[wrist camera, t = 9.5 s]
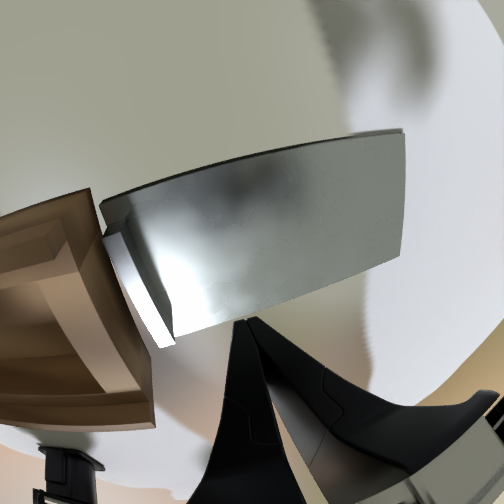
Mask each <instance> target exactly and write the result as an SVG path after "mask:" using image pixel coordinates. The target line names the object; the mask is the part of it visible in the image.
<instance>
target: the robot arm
mask: <svg viewBox="0 0 504 504" xmlns="http://www.w3.org/2000/svg"><path fill="white" fill-rule="evenodd" d="M499 396H500V394H499V393H497V392H495V391H491V390H478V391H477V392H476V393H475V394H474V395H473V396H472V397H471V398H470V399H468V400H467V401H465V402H463V403H460V404H456V405H444V406H402V405H397V404H394V403H391V402H388V401H386V400H384V399H382V398H380V397H378V396H376V395H374V394H372V393H369V392H367V391H365V390H363V389H361V388H360V387H358V386H356V385H354V384H352V383H350V382H348V381H347V380H345V379H343V378H342V377H340V376H339V375H337V374H336V373H334V372H333V371H331V370H330V369H328V368H327V367H326V368H325V366H324V365H322V364H321V363H320V362H318V361H317V360H315V359H314V358H313V357H311V356H310V355H308V354H307V353H306V352H304V351H303V350H302V349H300V348H299V347H297V346H296V345H295V344H293V343H292V342H291V341H289V340H288V339H286V338H285V337H284V336H282V335H281V334H280V333H278V332H277V331H276V330H274V329H273V328H272V327H270V326H269V325H268V324H266V323H265V322H264V321H262V320H261V319H260V318H258V317H256V316H255V317H251V318H247V319H246V320H244V319H242V320H238V321H234V323H233V330H232V337H231V345H230V353H229V361H228V368H227V376H226V384H225V392H224V399H223V407H222V413H221V420H220V424H219V428H218V431H217V435H216V439H215V442H214V445H213V449H212V452H211V455H210V459H209V462H208V465H207V468H206V471H205V473H204V476H203V478H202V480H201V482H200V483H199V485H198V487H197V488H196V490H195V491H194V493H193V494H192V496H191V497H190V499H189V500H188V502H187V503H186V504H307V503H306V501H305V499H304V496H303V494H302V492H301V490H300V488H299V486H298V483H297V481H296V479H295V477H294V474H293V472H292V470H291V467H290V465H289V463H288V460H287V457H286V454H285V451H284V447H283V443H282V439H281V436H280V432H279V428H278V424H277V421H276V417H275V413H274V409H273V405H272V402H273V404H274V405H275V408H276V409H277V411H278V413H279V415H280V417H281V419H282V421H283V423H284V425H285V427H286V428H287V431H288V432H289V434H290V436H291V438H292V440H293V442H294V444H295V445H296V447H297V449H298V451H299V453H300V454H301V456H302V458H303V460H304V462H305V464H306V465H307V467H308V468H309V471H310V473H311V474H312V476H313V477H314V480H315V481H316V483H317V485H318V486H319V488H320V490H321V492H322V493H323V495H324V497H325V498H326V500H327V501H328V503H329V504H356V503H357V504H492V503H493V502H494V501H495V500H496V499H497V498H498V497H499V495H500V494H501V493H502V492H503V491H504V396H503V397H502V398H501V399H500V400H499V402H498V403H497V404H496V405H495V406H494V407H493V408H492V409H491V410H490V411H489V412H488V413H487V414H486V416H485V417H484V416H483V414H484V413H485V412H486V411H487V410H488V408H490V406H491V405H492V404H493V403H494V402H495V401H496V400H497V398H498V397H499ZM271 400H272V402H271ZM38 450H39V451H40V452H42V453H43V454H45V455H46V459H45V480H46V492H44V490H41V489H39V490H38V489H34V488H33V504H47V503H45V500H48V501H51V502H54V503H57V504H97V493H96V479H95V471H105V468H104V467H103V466H101V465H100V464H98V463H96V462H95V461H93V460H92V459H90V458H89V457H87V456H86V455H84V454H83V453H82V452H80V451H77V450H65V449H55V448H46V447H38Z"/></svg>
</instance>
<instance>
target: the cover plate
mask: <svg viewBox="0 0 504 504" xmlns="http://www.w3.org/2000/svg"><path fill="white" fill-rule="evenodd" d="M404 201H405V133H391V134H381V135H372V136H364V137H356V138H353V137H352V136H346V137H340V138H333V139H327V140H320V141H314V142H308V143H302V144H297V145H292V146H286V147H282V148H276V149H272V150H267V151H263V152H258V153H254V154H250V155H245V156H241V157H237V158H232V159H229V160H225V161H221V162H217V163H213V164H210V165H206V166H202V167H199V168H196V169H192V170H188V171H185V172H182V173H178V174H175V175H172V176H169V177H166V178H163V179H159V180H156V181H154V182H150V183H147V184H144V185H142V186H139V187H136V188H133V189H130V190H127V191H125V192H122V193H120V194H117V195H114V196H112V197H109V198H106V199H104V200H102V202H101V203H100V204H99V208H100V210H101V213H102V215H103V218H104V220H105V223H106V225H107V229H106V231H105V233H104V235H103V237H102V241H103V243H104V246H105V248H106V250H107V252H108V254H109V256H110V258H111V261H112V263H113V264H114V267H115V269H116V271H117V273H118V275H119V277H120V279H121V281H122V283H123V284H124V286H125V288H126V290H127V292H128V294H129V296H130V298H131V300H132V302H133V303H134V305H135V307H136V309H137V310H138V312H139V314H140V316H141V317H142V319H143V321H144V323H145V324H146V326H147V328H148V329H149V331H150V332H151V334H152V336H153V338H154V339H155V341H156V342H157V344H158V346H159V347H160V348H161V347H165V346H169V345H172V344H175V337H176V336H180V335H183V334H186V333H190V332H193V331H197V330H200V329H203V328H207V327H210V326H213V325H216V324H220V323H223V322H226V321H229V320H232V319H235V318H238V317H241V316H244V315H247V314H250V313H253V312H256V311H259V310H262V309H265V308H268V307H271V306H274V305H276V304H279V303H282V302H285V301H288V300H291V299H293V298H296V297H299V296H301V295H304V294H307V293H310V292H312V291H315V290H318V289H320V288H323V287H326V286H328V285H331V284H333V283H336V282H338V281H341V280H343V279H346V278H349V277H350V276H353V275H356V274H358V273H361V272H363V271H366V270H368V269H370V268H373V267H375V266H378V265H380V264H382V263H385V262H387V261H389V260H392V259H394V258H396V257H398V256H400V248H401V239H402V229H403V217H404Z"/></svg>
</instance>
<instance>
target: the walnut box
mask: <svg viewBox="0 0 504 504" xmlns="http://www.w3.org/2000/svg"><path fill="white" fill-rule="evenodd" d="M102 237H103V235H102V232H101V228H100V225H99V221H98V217H97V214H96V210H95V206H94V202H93V198H92V194H91V190H90V188H86V189H82V190H79V191H75V192H72V193H68V194H65V195H62V196H59V197H55V198H53V199H49V200H46V201H43V202H40V203H38V204H34V205H31V206H29V207H26V208H23V209H21V210H18V211H15V212H13V213H10V214H7V215H5V216H2V217H0V424H4V425H10V426H16V427H23V428H31V429H41V430H52V431H71V432H111V431H130V430H143V429H153V428H156V424H155V414H154V402H153V389H152V370H151V369H152V368H151V357H150V355H149V352H148V350H147V348H146V346H145V344H144V342H143V340H142V338H141V336H140V333H139V331H138V329H137V327H136V325H135V322H134V320H133V318H132V315H131V313H130V311H129V308H128V306H127V303H126V301H125V298H124V296H123V293H122V291H121V288H120V285H119V282H118V280H117V278H116V274H115V272H114V269H113V266H112V263H111V260H110V257H109V254H108V252H107V250H106V248H105V246H104V243H103V241H102Z"/></svg>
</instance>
